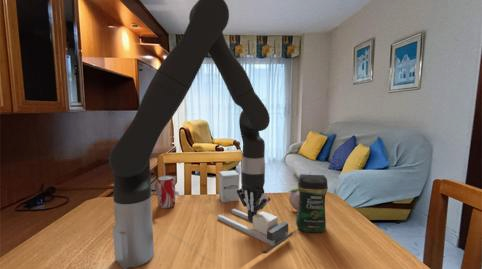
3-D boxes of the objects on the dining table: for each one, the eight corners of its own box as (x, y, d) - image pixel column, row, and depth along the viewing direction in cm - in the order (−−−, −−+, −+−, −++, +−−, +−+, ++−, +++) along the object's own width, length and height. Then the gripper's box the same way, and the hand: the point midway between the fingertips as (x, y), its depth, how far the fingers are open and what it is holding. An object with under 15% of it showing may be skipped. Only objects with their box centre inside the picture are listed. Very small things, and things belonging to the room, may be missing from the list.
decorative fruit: (292, 217, 94) (293, 191, 93) (286, 207, 102) (286, 184, 101) (317, 215, 96) (318, 190, 94) (308, 206, 104) (309, 183, 102)
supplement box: (222, 205, 105) (221, 175, 103) (218, 198, 112) (218, 170, 110) (239, 203, 107) (239, 174, 105) (235, 197, 114) (235, 169, 112)
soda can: (173, 209, 101) (171, 180, 100) (155, 209, 101) (153, 180, 100) (177, 202, 108) (176, 175, 107) (161, 202, 108) (159, 175, 107)
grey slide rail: (211, 225, 88) (211, 211, 88) (239, 212, 98) (239, 200, 98) (266, 253, 72) (266, 237, 71) (292, 234, 82) (293, 220, 81)
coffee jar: (297, 233, 83) (299, 178, 80) (295, 221, 91) (296, 171, 88) (328, 234, 82) (330, 179, 80) (322, 223, 90) (325, 172, 87)
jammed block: (252, 232, 81) (252, 216, 80) (262, 226, 85) (262, 211, 84) (267, 239, 77) (267, 222, 76) (277, 233, 81) (277, 216, 80)
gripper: (230, 168, 84) (230, 217, 86) (261, 176, 75) (260, 232, 77) (245, 163, 89) (245, 210, 91) (276, 171, 80) (275, 223, 82)
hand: (252, 220), depth 84 cm, fingers closed
